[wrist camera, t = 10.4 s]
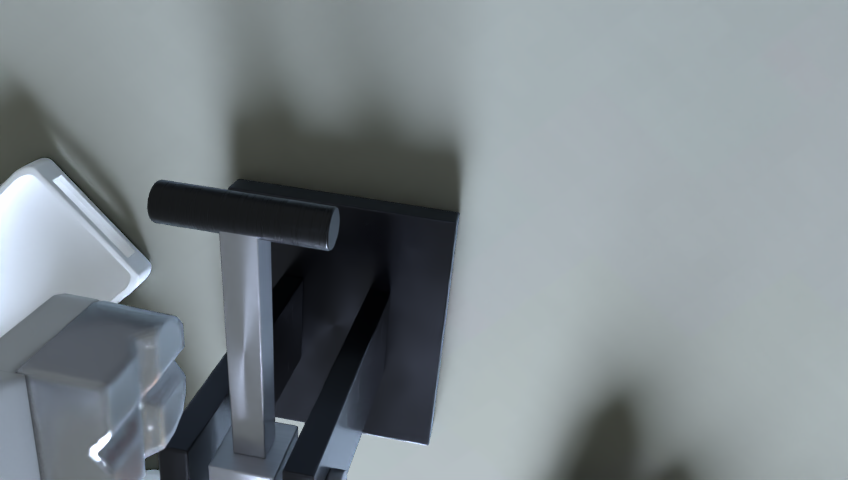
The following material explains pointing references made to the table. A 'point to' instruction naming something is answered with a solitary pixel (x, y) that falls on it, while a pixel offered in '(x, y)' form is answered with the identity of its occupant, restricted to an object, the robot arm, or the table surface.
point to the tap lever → (248, 307)
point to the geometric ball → (152, 475)
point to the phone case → (58, 245)
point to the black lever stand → (341, 338)
